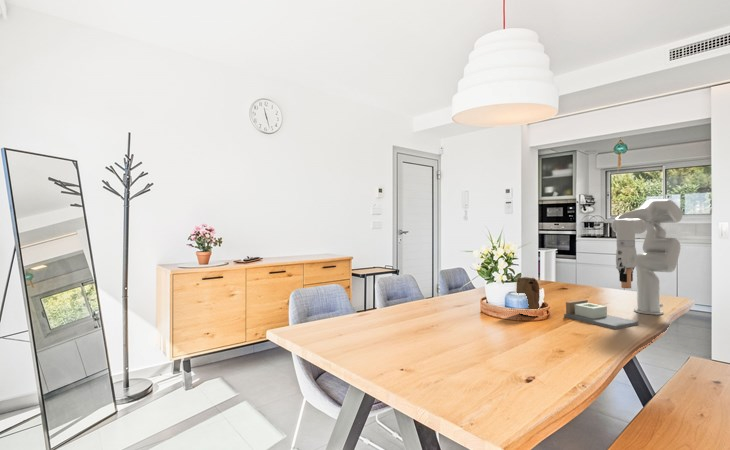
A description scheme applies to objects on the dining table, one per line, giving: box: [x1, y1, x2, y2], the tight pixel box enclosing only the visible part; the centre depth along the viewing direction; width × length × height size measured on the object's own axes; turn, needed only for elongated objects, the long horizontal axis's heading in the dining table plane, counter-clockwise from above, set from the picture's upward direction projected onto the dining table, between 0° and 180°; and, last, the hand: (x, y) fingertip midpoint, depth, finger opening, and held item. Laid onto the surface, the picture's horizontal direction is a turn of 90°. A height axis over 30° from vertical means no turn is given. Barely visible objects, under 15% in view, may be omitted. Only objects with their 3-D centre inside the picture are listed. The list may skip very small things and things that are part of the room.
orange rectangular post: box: [620, 268, 632, 290], centre depth 185 cm, size 4×4×10 cm
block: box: [516, 276, 541, 309], centre depth 199 cm, size 11×8×20 cm
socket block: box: [575, 302, 608, 319], centre depth 190 cm, size 10×10×5 cm
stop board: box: [563, 299, 639, 330], centre depth 186 cm, size 17×26×8 cm, turn 24°
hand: (626, 281), depth 185 cm, fingers closed on orange rectangular post, 4 cm apart
